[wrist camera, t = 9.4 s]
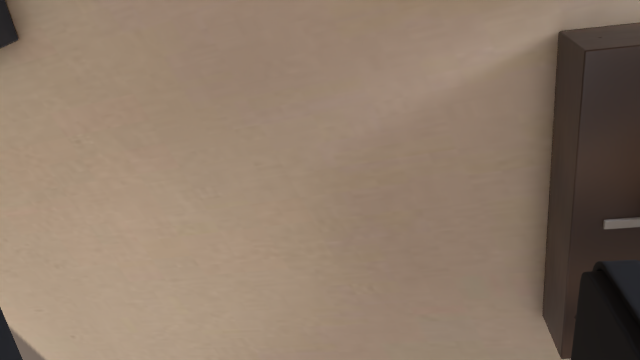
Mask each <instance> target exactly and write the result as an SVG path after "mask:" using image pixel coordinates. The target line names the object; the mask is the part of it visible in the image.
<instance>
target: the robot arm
mask: <svg viewBox="0 0 640 360" xmlns="http://www.w3.org/2000/svg"><path fill="white" fill-rule="evenodd" d="M0 360H23V359H22V357H21V355H20V353H19V350H18V348H17V345H16V343H15V341H14V338H13V336H12V334H11V331H10V329H9V327H8V324H7V322H6V320H5V317H4V315H3V313H2V310H1V308H0ZM571 360H640V261H639V260H616V261H598V262H596V263H595V265H594V267H593V270H592V271H589V272H584V273H583V274H582V276H581V280H580V288H579V296H578V304H577V312H576V321H575V329H574V337H573V345H572V353H571Z"/></svg>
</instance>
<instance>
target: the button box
mask: <svg viewBox="0 0 640 360" xmlns="http://www.w3.org/2000/svg"><path fill="white" fill-rule="evenodd" d="M17 40H18V37H17V34H16V31H15V28H14V25H13V22H12V20H11V17H10V14H9V11H8V8H7V5H6V2H5V0H0V48H2V47H5V46H7V45H9V44H11V43H13V42H15V41H17Z"/></svg>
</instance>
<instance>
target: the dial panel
mask: <svg viewBox="0 0 640 360" xmlns="http://www.w3.org/2000/svg"><path fill="white" fill-rule="evenodd" d="M616 260H639V261H640V23H633V24H623V25H614V26H605V27H595V28H586V29H577V30H567V31H560V32H559V38H558V56H557V73H556V90H555V108H554V125H553V143H552V160H551V177H550V195H549V212H548V230H547V247H546V265H545V282H544V299H543V318H544V320H545V322H546V325H547V327H548V329H549V332H550V334H551V336H552V339H553V341H554V343H555V346H556V348H557V350H558V353H559V355H560V357H561V359H570V358H571V353H572V345H573V337H574V329H575V321H576V312H577V304H578V296H579V288H580V280H581V276H582V274H583V273H584V272H589V271H592V270H593V267H594V265H595V263H596V262H598V261H616Z"/></svg>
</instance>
